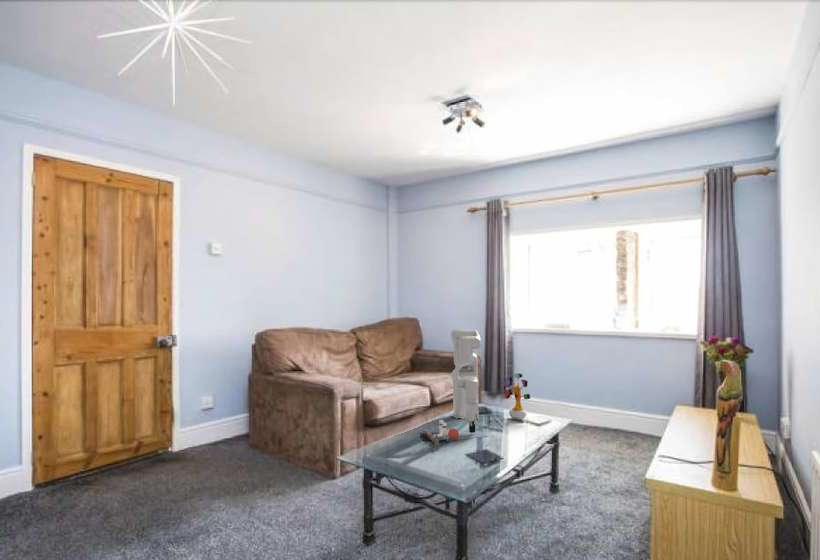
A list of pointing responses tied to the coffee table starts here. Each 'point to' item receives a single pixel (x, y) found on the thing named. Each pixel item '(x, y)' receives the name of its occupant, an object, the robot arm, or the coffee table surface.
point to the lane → (468, 435)
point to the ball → (453, 433)
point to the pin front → (439, 435)
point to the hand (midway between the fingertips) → (472, 432)
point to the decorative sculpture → (516, 397)
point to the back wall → (432, 437)
